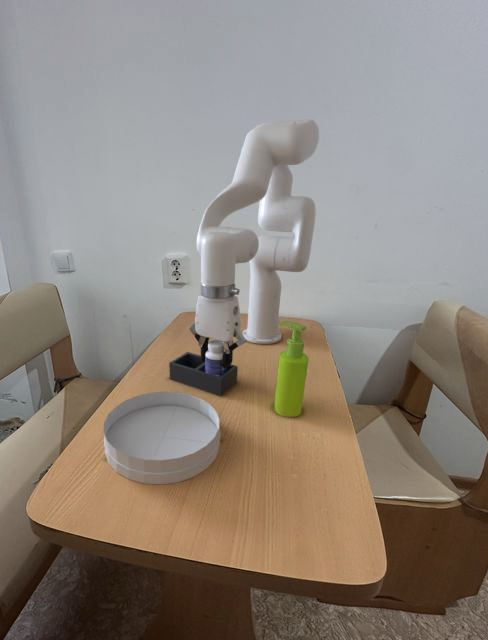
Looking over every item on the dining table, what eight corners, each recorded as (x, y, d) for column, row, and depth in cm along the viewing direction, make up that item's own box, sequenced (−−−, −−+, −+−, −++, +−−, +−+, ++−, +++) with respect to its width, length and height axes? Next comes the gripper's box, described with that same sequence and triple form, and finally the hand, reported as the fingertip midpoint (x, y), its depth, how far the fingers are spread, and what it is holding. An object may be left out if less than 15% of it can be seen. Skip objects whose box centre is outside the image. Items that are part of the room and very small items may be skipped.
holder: (187, 367, 102) (187, 351, 100) (236, 382, 94) (237, 366, 92) (169, 378, 96) (169, 362, 94) (220, 396, 88) (221, 379, 86)
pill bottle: (224, 382, 89) (225, 348, 86) (203, 380, 90) (203, 347, 87) (227, 372, 94) (228, 339, 90) (207, 370, 95) (207, 338, 91)
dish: (227, 416, 80) (227, 397, 78) (209, 493, 60) (210, 470, 58) (129, 405, 84) (127, 386, 82) (83, 474, 64) (79, 451, 62)
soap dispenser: (279, 397, 87) (288, 316, 79) (306, 409, 83) (318, 325, 74) (264, 407, 83) (272, 323, 75) (291, 420, 79) (303, 332, 70)
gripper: (259, 292, 81) (254, 365, 89) (195, 281, 90) (195, 349, 98) (244, 301, 76) (240, 378, 83) (176, 288, 85) (178, 360, 92)
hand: (216, 362), depth 91 cm, fingers closed on pill bottle, 5 cm apart
